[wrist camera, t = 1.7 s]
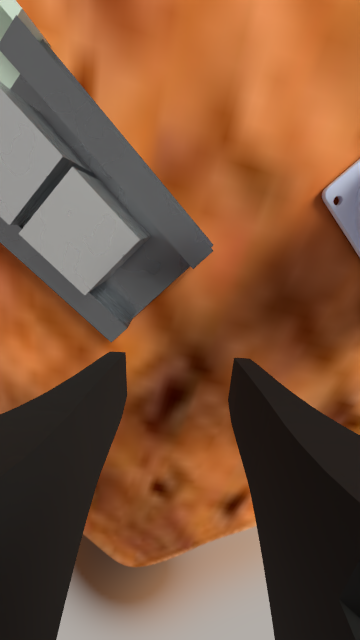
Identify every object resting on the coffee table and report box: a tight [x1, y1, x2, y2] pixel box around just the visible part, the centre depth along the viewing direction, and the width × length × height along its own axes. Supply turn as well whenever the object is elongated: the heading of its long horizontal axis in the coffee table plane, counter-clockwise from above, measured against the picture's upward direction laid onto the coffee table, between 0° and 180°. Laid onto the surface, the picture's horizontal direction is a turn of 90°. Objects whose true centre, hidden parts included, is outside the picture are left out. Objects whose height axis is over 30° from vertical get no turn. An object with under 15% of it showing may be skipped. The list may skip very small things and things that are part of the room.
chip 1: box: [0, 82, 95, 225], centre depth 12 cm, size 4×4×4 cm
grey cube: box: [19, 167, 151, 295], centre depth 13 cm, size 4×4×4 cm
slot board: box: [0, 15, 213, 342], centre depth 14 cm, size 13×9×3 cm
